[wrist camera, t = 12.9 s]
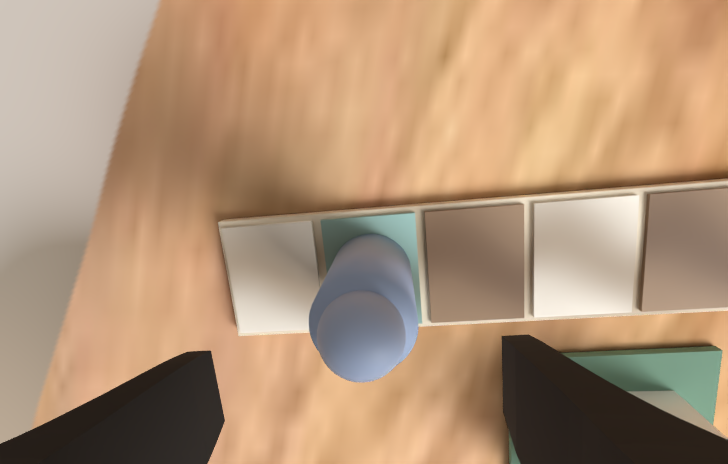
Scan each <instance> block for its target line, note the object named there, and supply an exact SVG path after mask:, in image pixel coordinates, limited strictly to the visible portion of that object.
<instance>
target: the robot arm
mask: <svg viewBox="0 0 728 464" xmlns="http://www.w3.org/2000/svg"><path fill="white" fill-rule="evenodd" d="M502 372H503V413H504V416H505V419H506V423H507V426H508V429H509V433H510V436H511V439H512V442H513V445H514V448H515V451H516V454H517V457H518V459H519V461H520V464H728V440H727V439H725V438H722V437H720V436H718V435H716V434H713V433H711V432H709V431H707V430H705V429H702V428H700V427H698V426H696V425H693V424H691V423H689V422H687V421H685V420H682V419H680V418H678V417H676V416H674V415H672V414H670V413H668V412H666V411H664V410H661V409H659V408H657V407H655V406H653V405H652V404H650V403H648V402H646V401H644V400H642V399H640V398H638V397H636V396H634V395H633V394H631V393H629V392H627V391H625V390H623V389H621V388H619V387H618V386H616V385H614V384H612V383H610V382H609V381H607V380H605V379H603V378H602V377H600V376H598V375H596V374H595V373H593V372H591V371H590V370H588V369H586V368H584V367H583V366H581V365H579V364H578V363H576V362H574V361H573V360H571V359H569V358H568V357H566V356H565V355H563V354H561V353H560V352H558V351H556V350H555V349H553V348H551V347H550V346H548V345H546V344H545V343H543V342H541V341H540V340H538V339H536V338H534V337H532V336H530V335H513V336H502ZM224 421H225V419H224V414H223V409H222V404H221V399H220V394H219V389H218V384H217V379H216V374H215V369H214V364H213V359H212V354H211V351H193V352H186V353H183V354H181V355H178V356H176V357H174V358H172V359H170V360H168V361H165V362H163V363H161V364H159V365H158V366H156V367H154V368H152V369H150V370H148V371H146V372H144V373H142V374H140V375H138V376H137V377H135V378H133V379H131V380H129V381H127V382H125V383H123V384H122V385H120V386H118V387H116V388H114V389H112V390H110V391H108V392H107V393H105V394H103V395H101V396H99V397H97V398H95V399H93V400H91V401H89V402H87V403H85V404H83V405H81V406H79V407H77V408H75V409H73V410H71V411H69V412H67V413H65V414H63V415H61V416H59V417H57V418H55V419H53V420H51V421H49V422H47V423H45V424H43V425H41V426H39V427H37V428H35V429H32V430H30V431H28V432H26V433H24V434H22V435H19V436H17V437H15V438H13V439H11V440H8V441H6V442H3V443H1V444H0V464H207V463H208V461H209V459H210V457H211V454H212V452H213V449H214V447H215V445H216V442H217V440H218V437H219V435H220V432H221V429H222V427H223V424H224Z"/></svg>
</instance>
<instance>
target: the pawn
mask: <svg viewBox="0 0 728 464" xmlns="http://www.w3.org/2000/svg"><path fill="white" fill-rule="evenodd" d="M309 331H310V335H311V338H312V341H313V343H314V345H315V346H316V348H317V350H318V351H319V352H320V355H321V357H322V359H323V361H324V362H325V364H326V365H327V366H328V368H329V369H330V370H331V371H333V372H334V373H335V374H336V375H338V376H340V377H341V378H344V379H346V380H349V381H353V382H370V381H374V380H377V379H379V378H381V377H383V376H385V375H386V374H387V373H389V372H390V371H391V370H392V369H393V368H394V367H395V366H396V365H398V364H399V363H400V362H402V361H403V360H404V359H405V358H406V357H407V355H408V354H409V353H410V352H411V350H412V348H413V346H414V344H415V342H416V339H417V335H418V316H417V308H416V301H415V294H414V287H413V279H412V272H411V266H410V261H409V258H408V256H407V254H406V252H405V251H404V249H403V248H402V247H401V246H400V245H399V244H398V243H397V242H395V241H394V240H392V239H390V238H388V237H386V236H383V235H379V234H364V235H359V236H356V237H354V238H352V239H350V240H349V241H347V242H346V243H345V244H344V245H343V246H342V247H341V248H340V250H339V251H338V253H337V255H336V257H335V259H334V261H333V263H332V265H331V267H330V269H329V271H328V273H327V275H326V277H325V279H324V281H323V283H322V285H321V287H320V289H319V291H318V293H317V295H316V297H315V299H314V301H313V303H312V306H311V309H310V313H309Z"/></svg>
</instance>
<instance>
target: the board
mask: <svg viewBox="0 0 728 464" xmlns="http://www.w3.org/2000/svg"><path fill="white" fill-rule="evenodd" d="M218 226H219V232H220V237H221V243H222V248H223V253H224V259H225V264H226V270H227V275H228V281H229V286H230V291H231V297H232V302H233V308H234V313H235V319H236V324H237V329H238V335H239V336H250V335H269V334H288V333H307V332H310V331H309V313H310V309H311V306H312V303H313V301H314V299H315V297H316V295H317V293H318V291H319V289H320V287H321V285H322V283H323V281H324V279H325V277H326V275H327V273H328V271H329V269H330V267H331V265H332V263H333V261H334V259H335V257H336V255H337V253H338V251H339V250H340V248H341V247H342V246H343V245H344V244H345V243H346V242H347V241H349V240H350V239H352V238H354V237H356V236H359V235H364V234H379V235H383V236H386V237H388V238H390V239H392V240H394V241H395V242H397V243H398V244H399V245H400V246H401V247H402V248H403V249H404V251H405V252H406V254H407V256H408V258H409V261H410V266H411V272H412V279H413V287H414V294H415V301H416V308H417V316H418V327H422V326H441V325H461V324H480V323H499V322H518V321H537V320H556V319H576V318H595V317H614V316H633V315H652V314H671V313H691V312H710V311H728V178H726V179H714V180H702V181H690V182H677V183H665V184H653V185H641V186H628V187H616V188H604V189H592V190H580V191H567V192H555V193H543V194H531V195H518V196H506V197H494V198H482V199H469V200H457V201H445V202H433V203H420V204H408V205H396V206H384V207H372V208H359V209H347V210H335V211H323V212H310V213H298V214H286V215H274V216H261V217H249V218H237V219H225V220H222V221H220V222H218Z"/></svg>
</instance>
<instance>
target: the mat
mask: <svg viewBox="0 0 728 464" xmlns="http://www.w3.org/2000/svg"><path fill="white" fill-rule="evenodd" d="M561 354H563V355H565V356H566V357H568V358H569V359H571V360H573V361H574V362H576V363H578V364H579V365H581V366H583V367H584V368H586V369H588V370H590V371H591V372H593V373H595V374H596V375H598V376H600V377H602V378H603V379H605V380H607V381H609V382H610V383H612V384H614V385H616V386H618V387H619V388H621V389H623V390H625V391H675V392H676V393H677V394H678V395H680V396H681V397H682V398H683V399H684V400H685V401H686V402H687V403H688V404H690V405H691V406H692V407H693V408H694V409H695V410H696V411H697V412H699V413H700V414H701V415H702V416H703V417H704V418H705V419H706V420H708V421H709V422H710V423H711V424H712V425H713V421H714V413H715V405H716V397H717V390H718V382H719V374H720V366H721V358H722V350H720V349H719V348H717V347H716V346H704V347H681V348H659V349H636V350H614V351H591V352H569V353H561ZM509 464H520V461H519V459H518V457H517V454H516V451H515V448H514V445H513V442H512V439H511V436H510V433H509Z"/></svg>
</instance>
